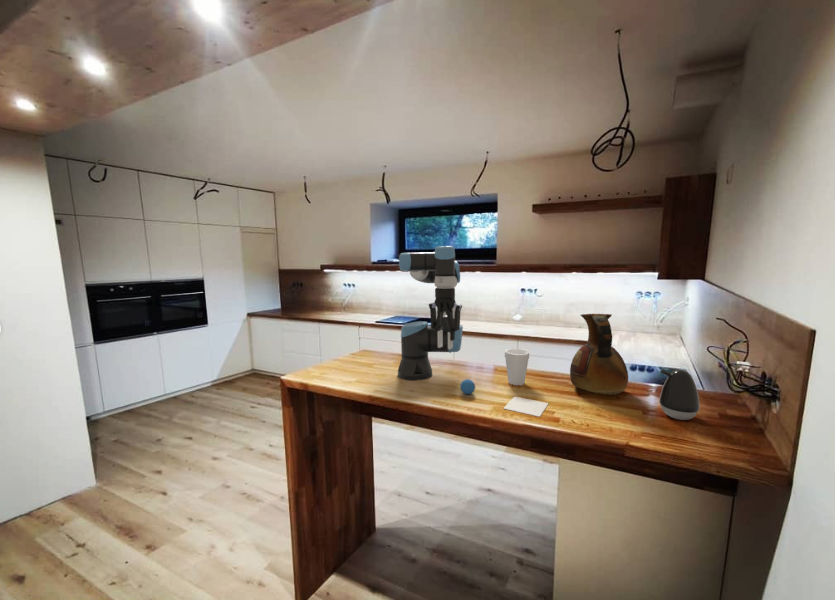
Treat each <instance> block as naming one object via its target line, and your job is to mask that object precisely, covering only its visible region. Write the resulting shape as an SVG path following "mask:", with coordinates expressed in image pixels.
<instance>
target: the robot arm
mask: <svg viewBox="0 0 835 600" xmlns="http://www.w3.org/2000/svg"><path fill="white" fill-rule="evenodd" d="M455 251H456V250H455V247H454V246H451V245H447V246H445V245H444V246H441V245H440V246H436V247H435V249H434V251H433V252H428V251H427V252H409V251H407V252H401V253H400V254H399V258H398V265H399V270H400V271H401V272H409V274H410V276H411V278H412V279H414V280H415V281H418V282H420V283H424V284H434V286H435V287H436V288H435V289H434V297H435V300H434V301H433V302H430V303H429V304H428V307H429V311H430V324H429V323H428V321H421V320H418V321H413V322H409V323H405V324H404V325H402V327H401V328H400V337H401V338H400V340H401V342H400V344H401V346H400V347H401V350H400V351H401V358H400V362H399V366H398V370H397V376H398V378H400V379H402V380H406V381H423V380H428V379H429V378H432V376H433V368H432V366H431V362H430V359H429V353H449V354H450V353H457V352H459V351H460V350H461V348H462V340H463V339H462V338H463V329H464V327H463V325H462V324H461V312H462V308H463V305H462V304H458V303H457V302H456V289H455V288H456V287H457V285H458V284H459V283H460V282H461V272H460V270H461V269H460V264H459V262H458V261H457V260H456V252H455Z"/></svg>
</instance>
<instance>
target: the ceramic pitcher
mask: <svg viewBox="0 0 835 600" xmlns="http://www.w3.org/2000/svg"><path fill="white" fill-rule="evenodd" d="M612 315H613V314H612V313H611V314H610V313H586V314H585V313H583V314H580V316H581V317H582V318H583V319H584V321H585V323H586V325H587V329H588V336H587V337H588V338H587V341H586V343H585V344H584V345H582V346H581V347H580V348H579V349H578V350H577V351H576V353H575V354H574V356H573V357H572V360H571V363H570V367H569V375H570V377H569V378H570V382H571V384H572V385H573V386H574V387H576V388H579V389H581V390H584V391H587V392H589V393H590V392H591V393H597V394H602V395H603V394H604V395H610V396H613V395H618V394H620V393H623V392H624V391H625V390H626V389H627V387H628V384H629V371H628V368H627V365H626V363H625V360H624V358H623V357H622V355H621V354H620V353H619V351H618V350H616V348H614V347H613V346H612V344H613V332H612V327H611V323H610V320H609V319H610V318H611V317H612Z"/></svg>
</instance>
